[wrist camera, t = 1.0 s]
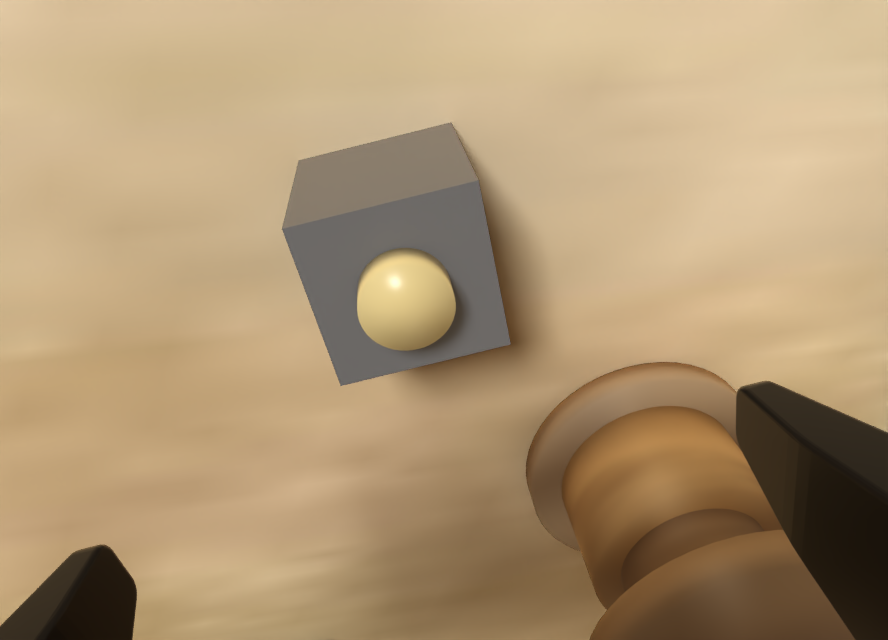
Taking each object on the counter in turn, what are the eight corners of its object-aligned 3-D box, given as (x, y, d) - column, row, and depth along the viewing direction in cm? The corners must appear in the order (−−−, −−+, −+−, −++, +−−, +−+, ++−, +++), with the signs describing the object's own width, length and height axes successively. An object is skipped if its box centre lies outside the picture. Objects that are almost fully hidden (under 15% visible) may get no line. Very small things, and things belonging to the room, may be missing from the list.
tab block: (479, 259, 19) (518, 364, 15) (344, 292, 19) (340, 407, 15) (451, 122, 17) (485, 194, 12) (299, 159, 17) (278, 245, 12)
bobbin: (745, 506, 26) (887, 718, 19) (542, 555, 26) (610, 784, 19) (750, 336, 21) (935, 529, 15) (508, 396, 22) (580, 614, 15)
